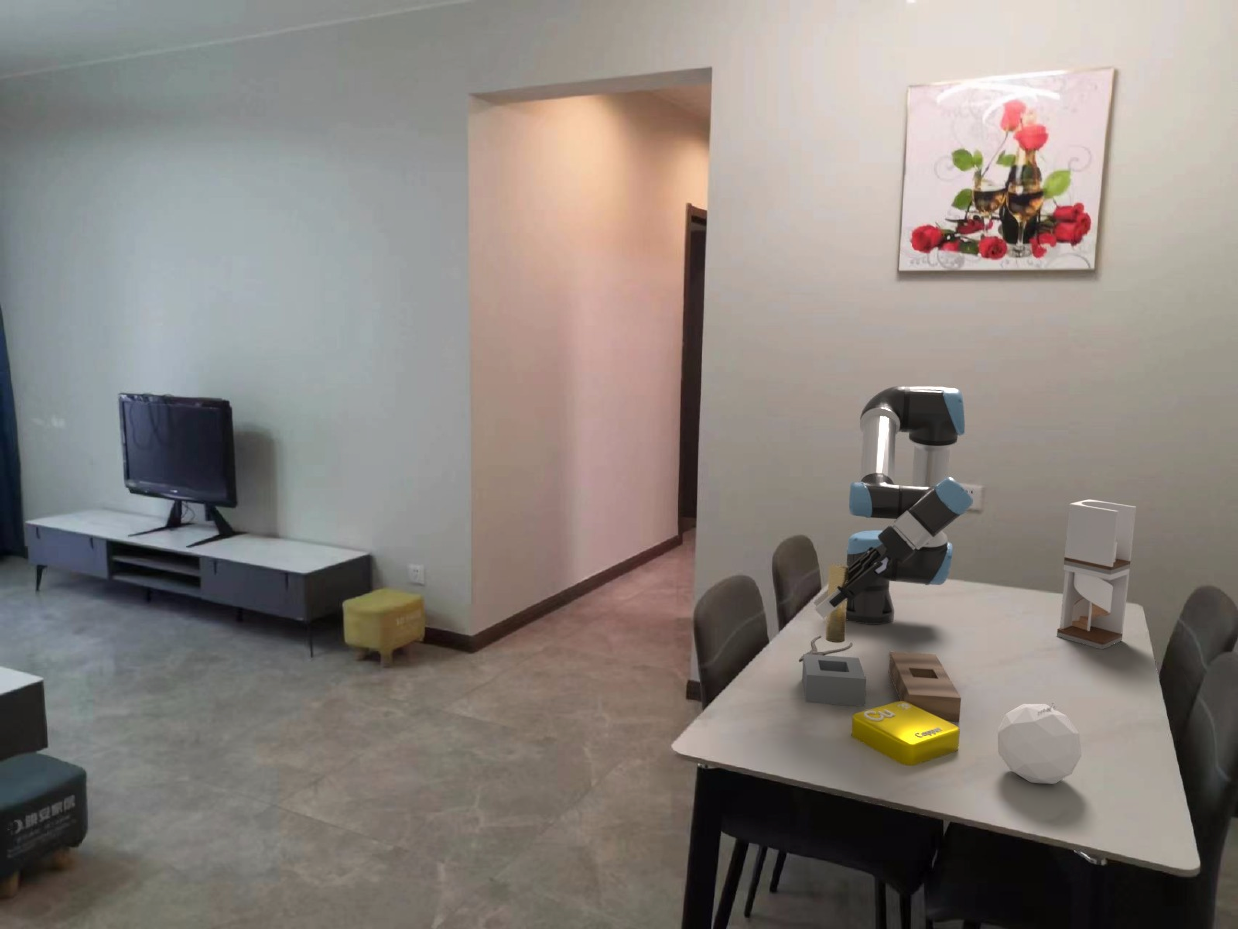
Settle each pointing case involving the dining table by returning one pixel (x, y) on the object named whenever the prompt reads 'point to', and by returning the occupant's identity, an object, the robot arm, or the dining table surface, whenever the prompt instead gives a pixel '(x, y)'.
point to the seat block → (833, 680)
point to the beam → (924, 684)
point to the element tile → (905, 733)
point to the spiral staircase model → (1096, 572)
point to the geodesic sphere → (1039, 743)
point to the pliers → (814, 652)
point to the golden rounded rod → (838, 616)
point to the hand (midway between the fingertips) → (818, 609)
